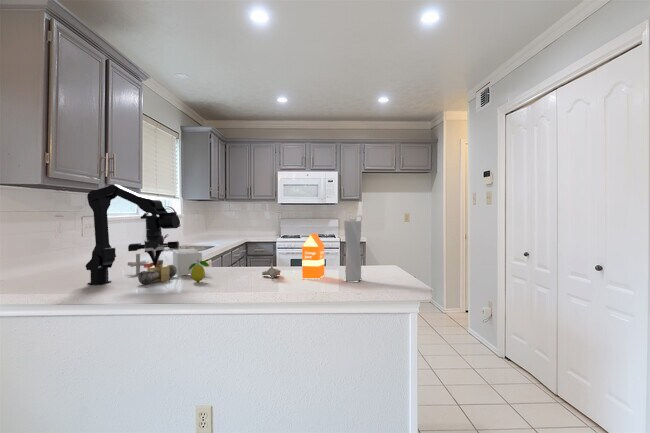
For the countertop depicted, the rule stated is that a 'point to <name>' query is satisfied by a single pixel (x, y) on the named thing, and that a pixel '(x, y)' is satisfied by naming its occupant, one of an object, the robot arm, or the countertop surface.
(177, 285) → the countertop surface
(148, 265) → the lever
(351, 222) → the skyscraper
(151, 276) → the valve body
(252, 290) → the countertop surface
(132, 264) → the pipe connector
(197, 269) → the lemon
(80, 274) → the countertop surface
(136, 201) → the robot arm
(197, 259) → the storage container
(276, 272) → the valve
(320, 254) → the orange juice
